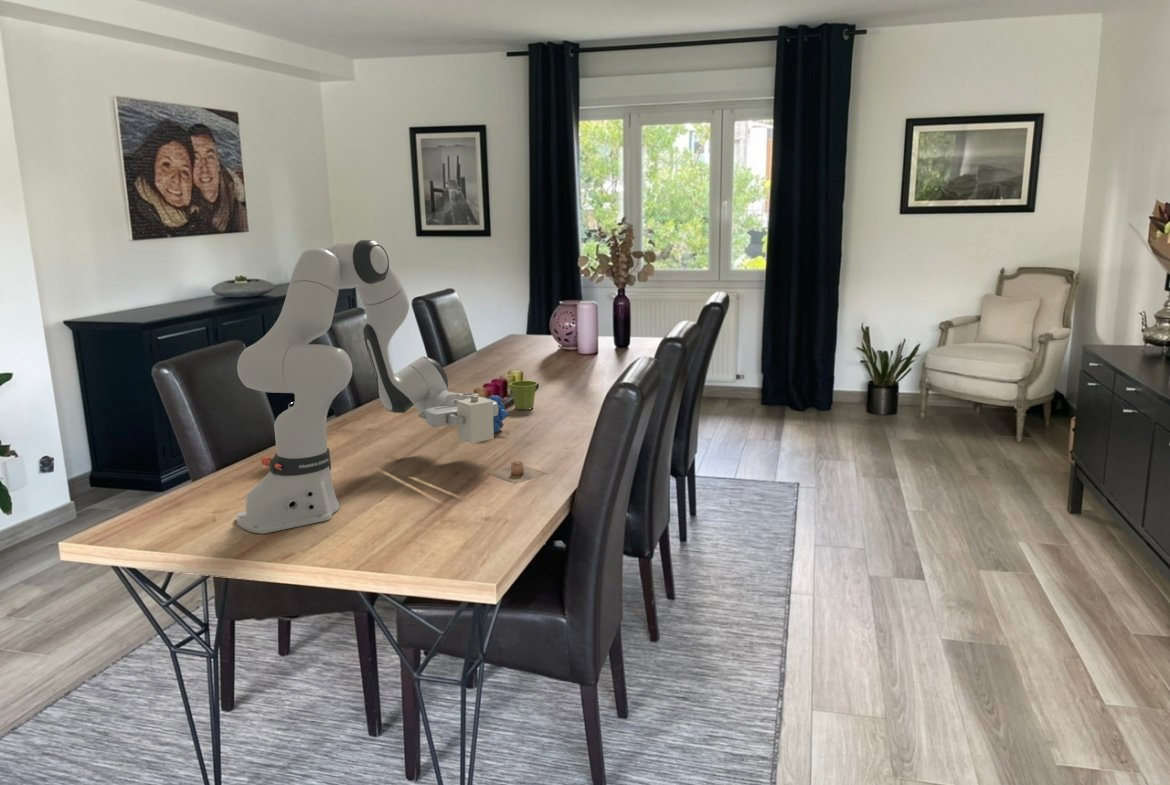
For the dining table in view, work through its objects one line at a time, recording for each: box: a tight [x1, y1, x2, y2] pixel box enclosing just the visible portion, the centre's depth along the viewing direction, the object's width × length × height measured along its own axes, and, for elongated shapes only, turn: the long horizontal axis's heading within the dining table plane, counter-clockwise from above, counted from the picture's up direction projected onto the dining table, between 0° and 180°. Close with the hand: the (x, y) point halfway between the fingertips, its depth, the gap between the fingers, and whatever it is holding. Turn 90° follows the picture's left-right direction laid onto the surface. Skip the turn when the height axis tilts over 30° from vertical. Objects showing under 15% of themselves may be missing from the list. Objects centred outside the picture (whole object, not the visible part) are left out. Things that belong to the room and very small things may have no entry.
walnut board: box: [487, 464, 549, 484], centre depth 220 cm, size 11×11×1 cm
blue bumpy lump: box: [488, 394, 509, 433], centre depth 260 cm, size 12×7×12 cm, turn 164°
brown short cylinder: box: [510, 460, 525, 476], centre depth 220 cm, size 3×3×3 cm
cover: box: [457, 396, 495, 444], centre depth 224 cm, size 7×7×11 cm
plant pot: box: [508, 380, 538, 410], centre depth 290 cm, size 9×9×9 cm
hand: (477, 418), depth 223 cm, fingers closed on cover, 7 cm apart
